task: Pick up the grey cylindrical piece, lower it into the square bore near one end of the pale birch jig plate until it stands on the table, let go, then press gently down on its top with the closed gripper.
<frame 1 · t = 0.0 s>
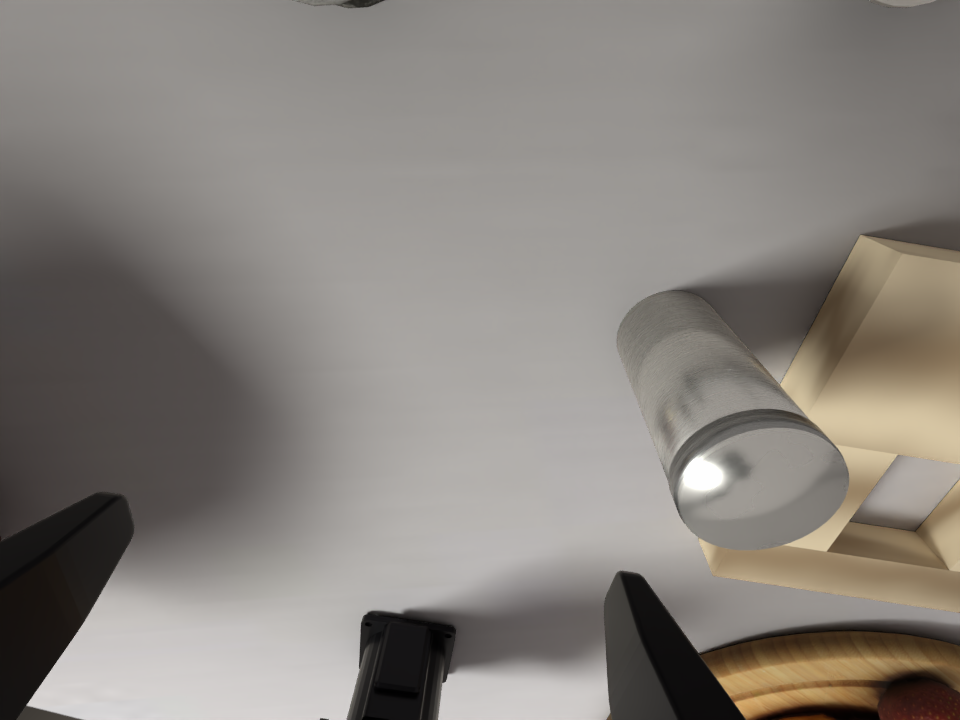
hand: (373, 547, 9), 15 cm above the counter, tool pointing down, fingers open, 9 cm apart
jig: (891, 479, 26), on the counter
grey cylindrical piece: (666, 336, 23), on the counter
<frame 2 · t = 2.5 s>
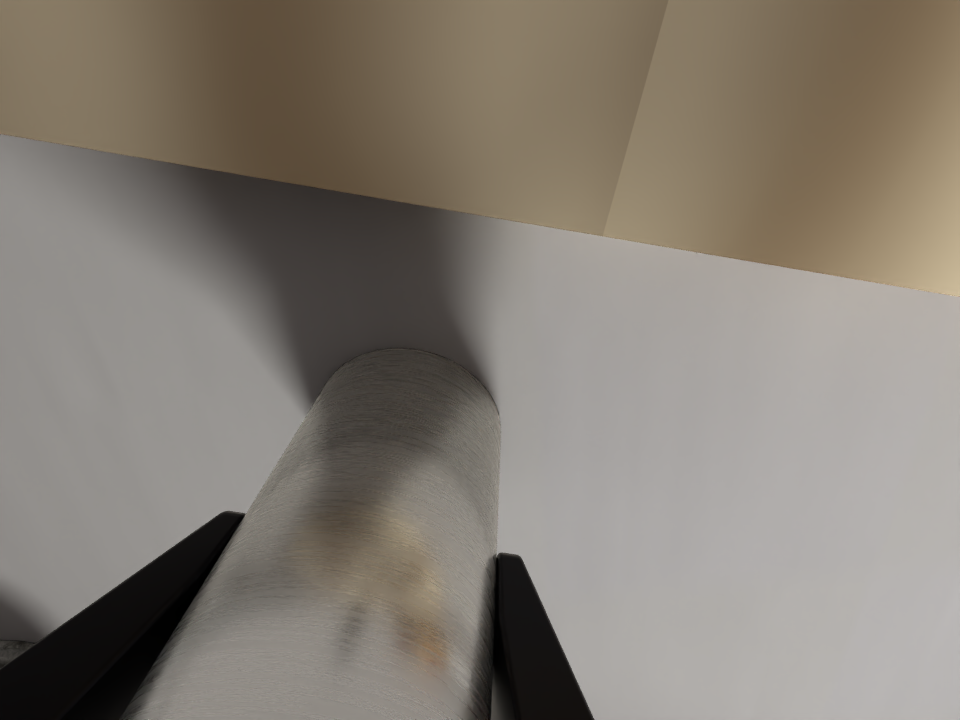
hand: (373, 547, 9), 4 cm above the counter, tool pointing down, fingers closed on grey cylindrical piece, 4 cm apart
grey cylindrical piece: (408, 429, 12), on the counter, touching gripper
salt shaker: (50, 675, 19), on the counter
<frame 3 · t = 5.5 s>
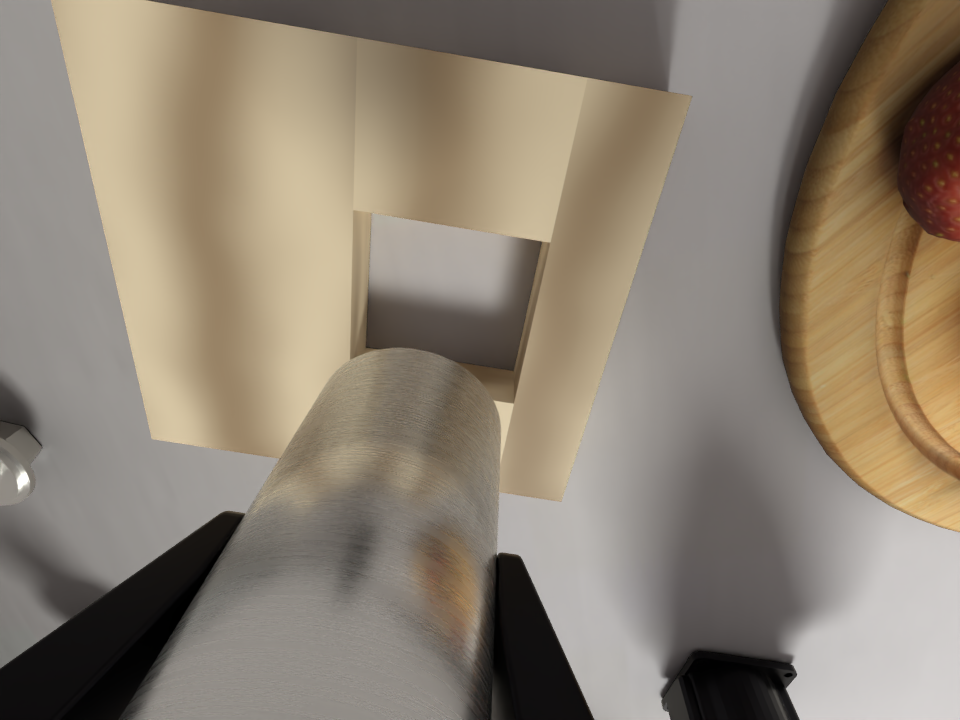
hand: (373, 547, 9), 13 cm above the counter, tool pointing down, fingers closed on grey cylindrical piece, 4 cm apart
jig: (449, 290, 20), on the counter
screw: (18, 438, 26), on the counter
grey cylindrical piece: (409, 428, 12), point 9 cm above the counter, touching gripper
when the fingers open (4 cm above the counter, at t = 8.5 s): grey cylindrical piece stays where it is, resting in jig.
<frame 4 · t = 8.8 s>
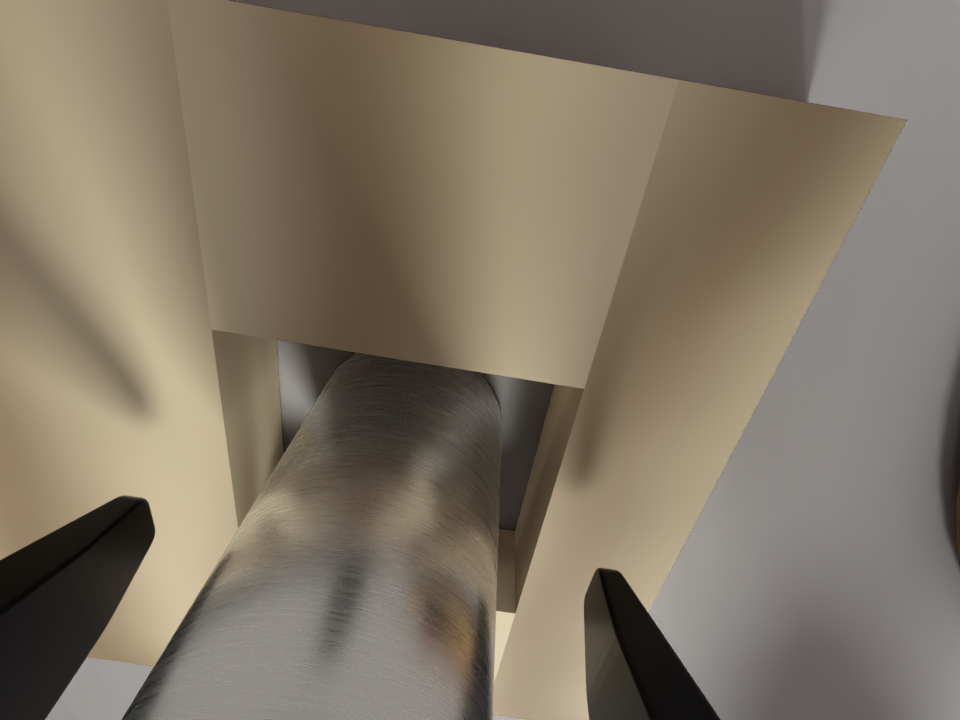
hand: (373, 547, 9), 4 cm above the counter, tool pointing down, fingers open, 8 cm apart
jig: (410, 421, 12), on the counter
grey cylindrical piece: (411, 422, 12), resting in jig
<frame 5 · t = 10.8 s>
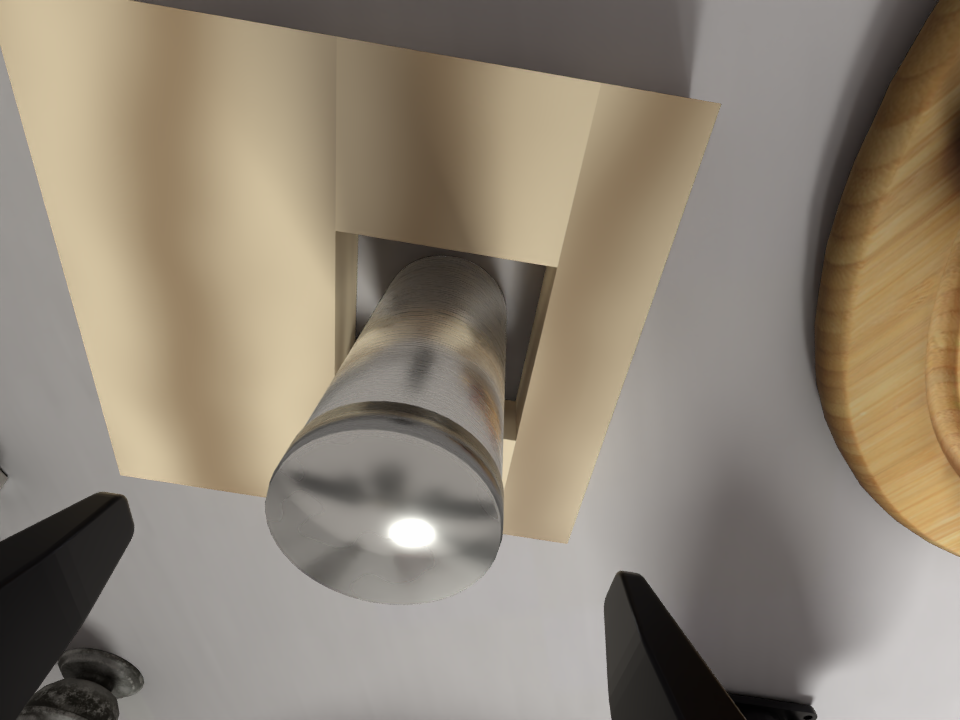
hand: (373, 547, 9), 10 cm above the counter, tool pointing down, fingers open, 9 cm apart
jig: (444, 314, 18), on the counter
grey cylindrical piece: (445, 315, 18), resting in jig
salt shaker: (104, 669, 32), on the counter
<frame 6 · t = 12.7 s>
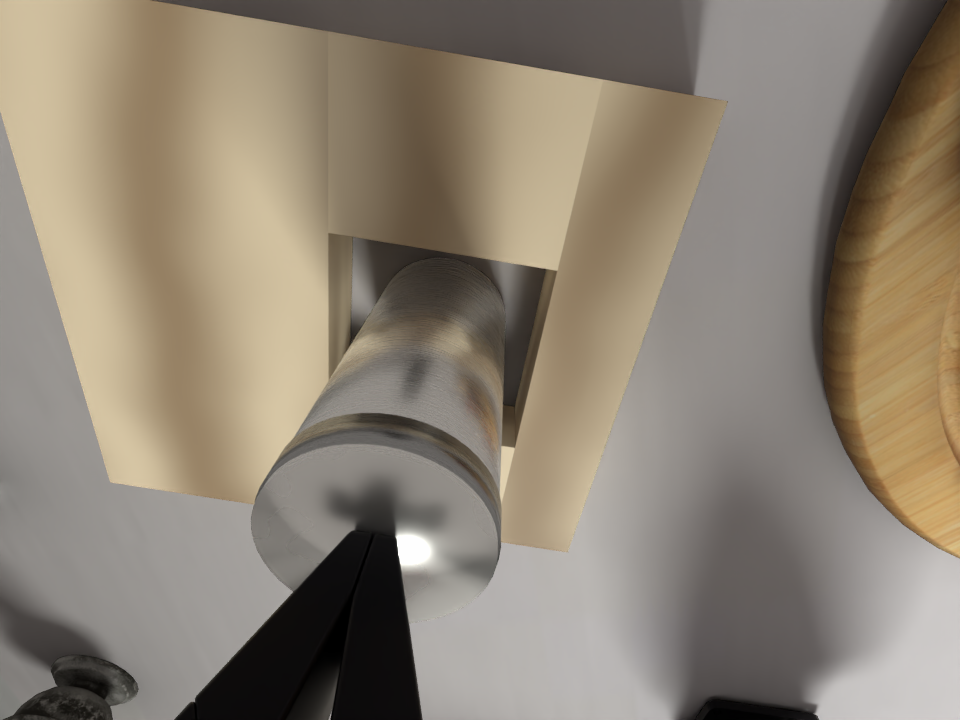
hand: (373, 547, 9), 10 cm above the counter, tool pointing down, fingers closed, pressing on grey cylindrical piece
jig: (441, 318, 18), on the counter
grey cylindrical piece: (442, 318, 18), resting in jig, touching gripper
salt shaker: (98, 676, 32), on the counter
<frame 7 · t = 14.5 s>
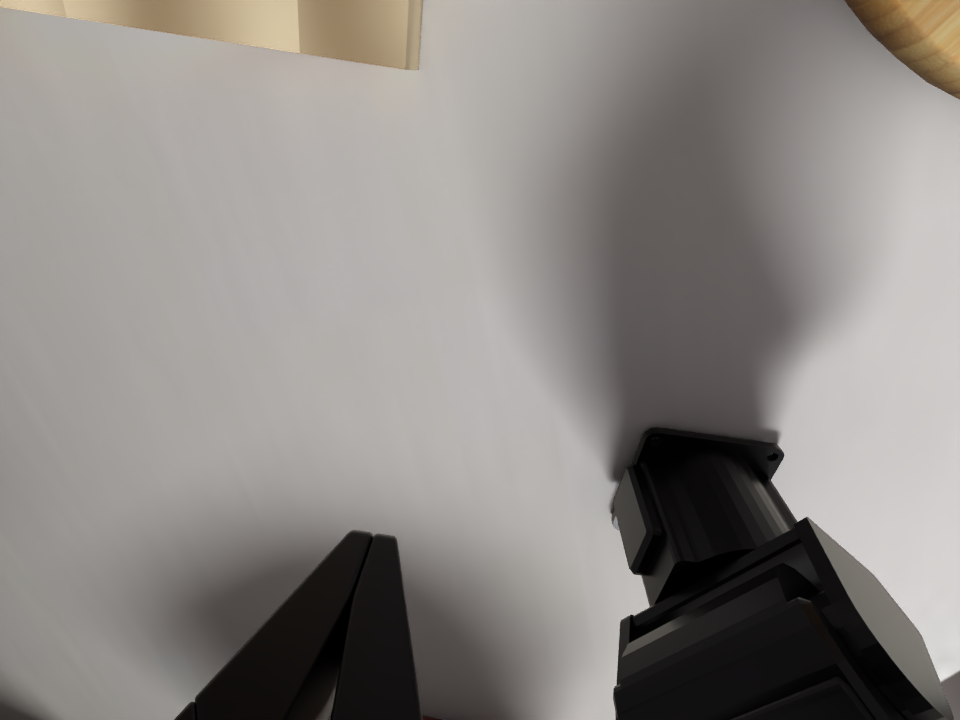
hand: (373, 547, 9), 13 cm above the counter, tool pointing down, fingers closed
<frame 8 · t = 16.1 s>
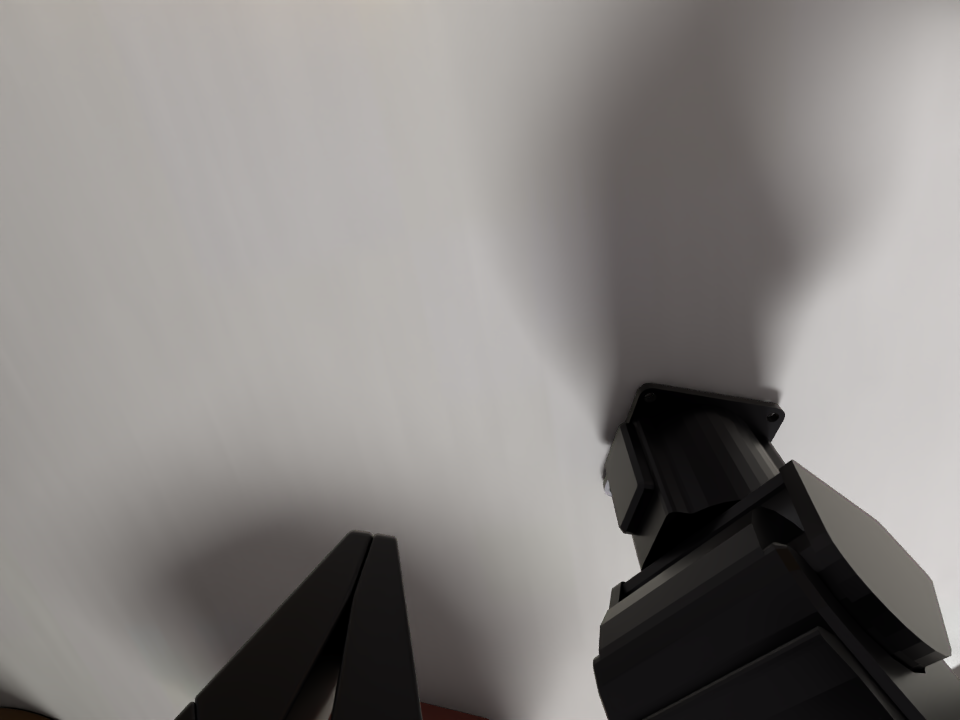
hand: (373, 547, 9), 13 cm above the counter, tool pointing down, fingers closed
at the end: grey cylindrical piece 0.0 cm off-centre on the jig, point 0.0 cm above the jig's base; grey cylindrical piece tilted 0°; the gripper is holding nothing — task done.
